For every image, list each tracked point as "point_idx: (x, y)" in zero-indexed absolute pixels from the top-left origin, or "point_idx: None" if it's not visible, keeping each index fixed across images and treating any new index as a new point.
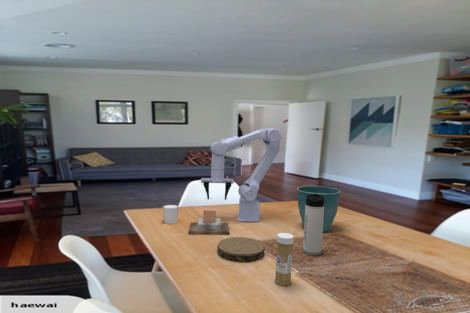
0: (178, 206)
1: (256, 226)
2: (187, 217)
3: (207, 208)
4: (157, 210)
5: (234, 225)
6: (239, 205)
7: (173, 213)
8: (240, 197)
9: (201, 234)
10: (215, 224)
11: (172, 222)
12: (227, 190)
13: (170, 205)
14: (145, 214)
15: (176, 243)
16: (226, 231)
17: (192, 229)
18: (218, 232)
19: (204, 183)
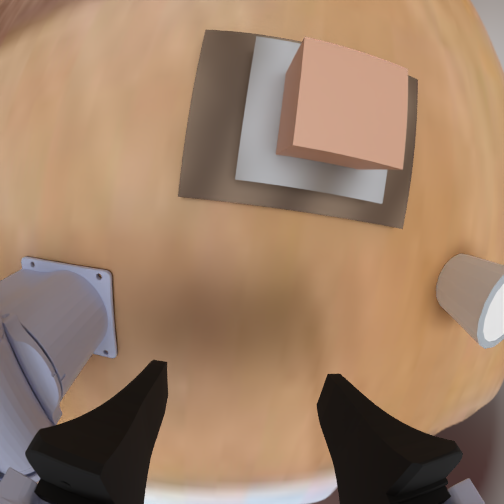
0: (480, 318)
1: (41, 179)
2: (379, 355)
3: (376, 124)
4: (441, 417)
5: (142, 198)
6: (73, 351)
7: (487, 266)
8: (52, 405)
9: None
10: (290, 44)
11: (460, 256)
12: (107, 414)
13: (496, 335)
14: (484, 369)
15: (434, 14)
16: (221, 35)
17: None
18: (268, 37)
19: (435, 490)
